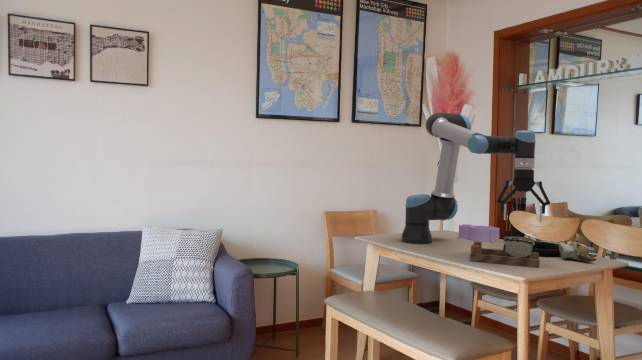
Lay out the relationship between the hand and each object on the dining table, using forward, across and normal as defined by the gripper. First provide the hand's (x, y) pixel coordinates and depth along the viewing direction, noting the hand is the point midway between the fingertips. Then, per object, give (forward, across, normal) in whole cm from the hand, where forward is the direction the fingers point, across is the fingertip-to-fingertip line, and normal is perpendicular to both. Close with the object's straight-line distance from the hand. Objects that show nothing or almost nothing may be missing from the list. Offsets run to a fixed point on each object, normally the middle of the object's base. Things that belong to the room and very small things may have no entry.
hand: (522, 221), depth 212 cm
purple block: (+17, -22, +56) cm, 62 cm away
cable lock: (+17, +7, +31) cm, 36 cm away
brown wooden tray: (+17, -6, 0) cm, 18 cm away
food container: (+17, 0, 0) cm, 17 cm away
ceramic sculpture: (+17, +22, +17) cm, 33 cm away
